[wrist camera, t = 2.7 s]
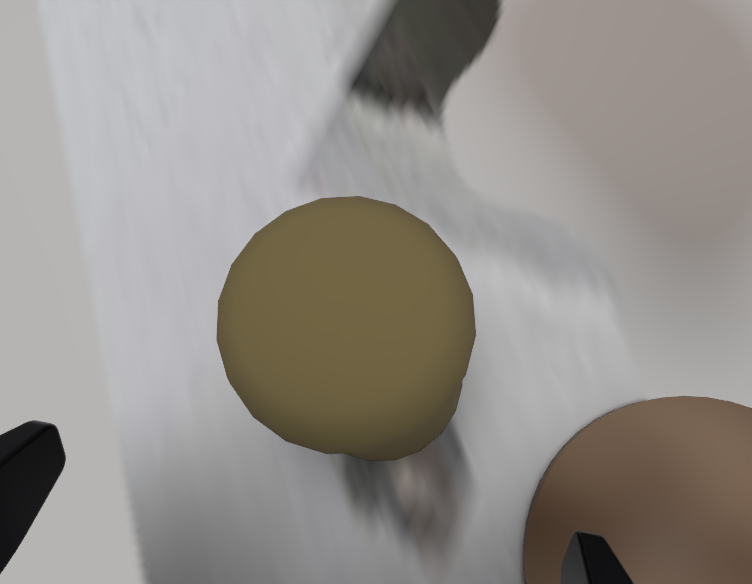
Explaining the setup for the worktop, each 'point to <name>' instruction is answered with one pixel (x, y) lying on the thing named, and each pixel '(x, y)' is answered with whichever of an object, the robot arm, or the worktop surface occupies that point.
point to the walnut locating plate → (652, 493)
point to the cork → (348, 328)
